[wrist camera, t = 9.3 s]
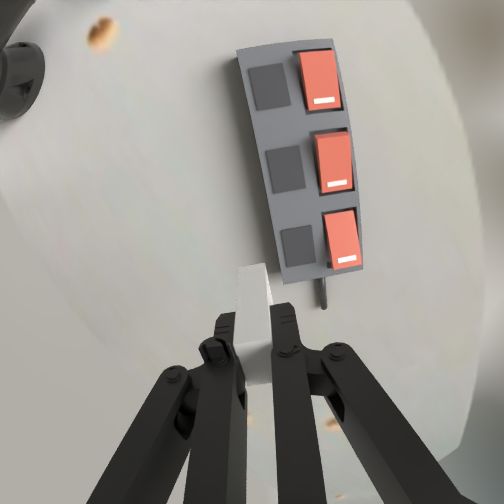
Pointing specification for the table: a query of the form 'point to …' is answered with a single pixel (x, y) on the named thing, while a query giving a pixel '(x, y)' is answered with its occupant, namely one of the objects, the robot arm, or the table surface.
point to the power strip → (296, 158)
